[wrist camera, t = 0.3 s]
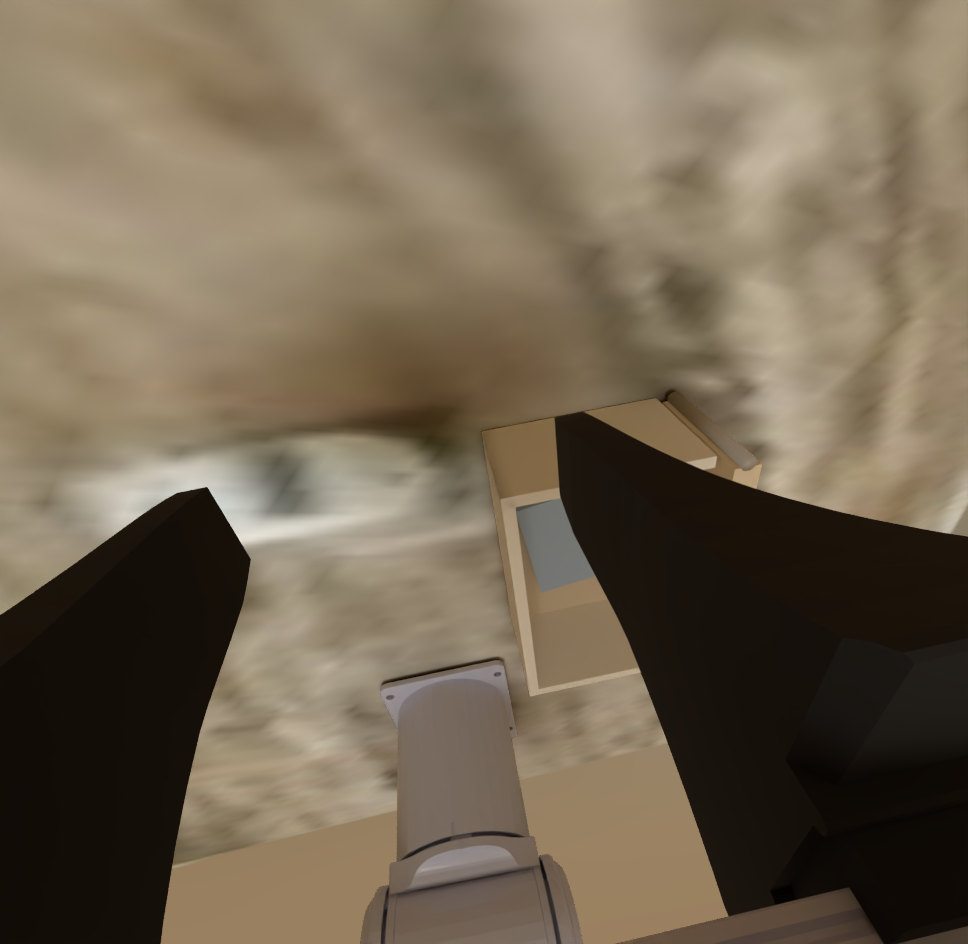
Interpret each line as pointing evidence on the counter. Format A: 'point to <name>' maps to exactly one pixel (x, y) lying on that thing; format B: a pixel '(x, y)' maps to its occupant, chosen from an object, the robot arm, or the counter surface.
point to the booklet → (552, 545)
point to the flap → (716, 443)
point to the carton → (581, 605)
